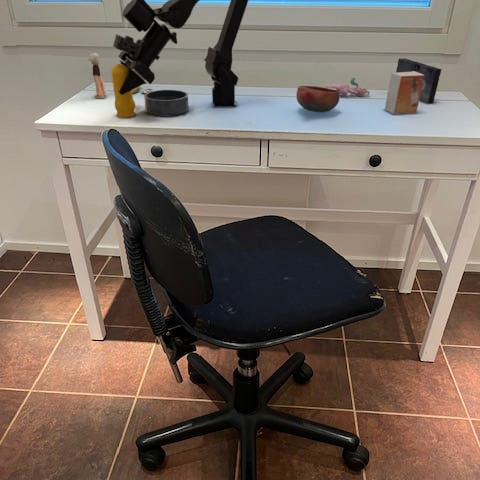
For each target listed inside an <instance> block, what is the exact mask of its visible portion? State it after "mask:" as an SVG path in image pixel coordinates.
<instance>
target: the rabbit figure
mask: <svg viewBox="0 0 480 480" xmlns="http://www.w3.org/2000/svg"><path fill="white" fill-rule="evenodd" d="M355 80H356V77H352V78H351V79H350V84H351V85H352V86H356V87H355V88H354V87H351V88H350V87H349V84H348V83H346V82H340V83H338V84H336V83H327V84H325V85H324V86H323V88H328V89H334V90H338V91H339V95H341V97H347V95H348V94H351V95H352V96H354V95H356V96H357V97H360V98H361V97H362V98H363V97H364V96H366V95H367V96H370V91H369V90H368V89H367V88H362V87H361V86H359V83H358V82H357V81H355Z"/></svg>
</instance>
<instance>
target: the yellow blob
mask: <svg viewBox="0 0 480 480" xmlns="http://www.w3.org/2000/svg"><path fill="white" fill-rule="evenodd" d="M127 75H128V71H127V67H126V66H125V65H123V64H121V63H117V64H115V65H114V66H113V67H112V69H111V78H112V86H113V93H114V108H115V110H116V113H117V117H119V118H123V119H124V118H133V117H135V116H136V112H135V109H136V102H135V100H134V95H133V93H132V90H131V91H129V92H127V93H125V94H123V95H121V94H120V93H119V91H120V89H121V86H122V85H123V83H124V81H125V79H126V77H127Z"/></svg>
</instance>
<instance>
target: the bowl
mask: <svg viewBox="0 0 480 480" xmlns="http://www.w3.org/2000/svg"><path fill="white" fill-rule="evenodd" d="M295 95H296V101H297V103H298V104H299V105H300V107H302V108H303V109H304V110H306V111H307V112H314V113H326V112H330V111H332V110H334V109H335V108H336V107H337V106H338V104H339V103H340V98H341V97H340V95H341V94H339V91H338V90H337V89H335V88H325V87H324V86H316V85H298V86H297V89H296V93H295Z"/></svg>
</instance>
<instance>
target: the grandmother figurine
mask: <svg viewBox="0 0 480 480" xmlns="http://www.w3.org/2000/svg"><path fill="white" fill-rule="evenodd" d="M88 61H90V63H91V64H92V76H93V81H94V84H95V85H94V86H95V94H96V95H95V97H96V99H105V98H106V97H105V96H106V95H107V91H106V90H107V89H106V87H105V83H104V80H103V78H102V76H101V70H100V62H101V61H100V55H99V54H98V53H96V52H92V53H91V54H89V57H88Z"/></svg>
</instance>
